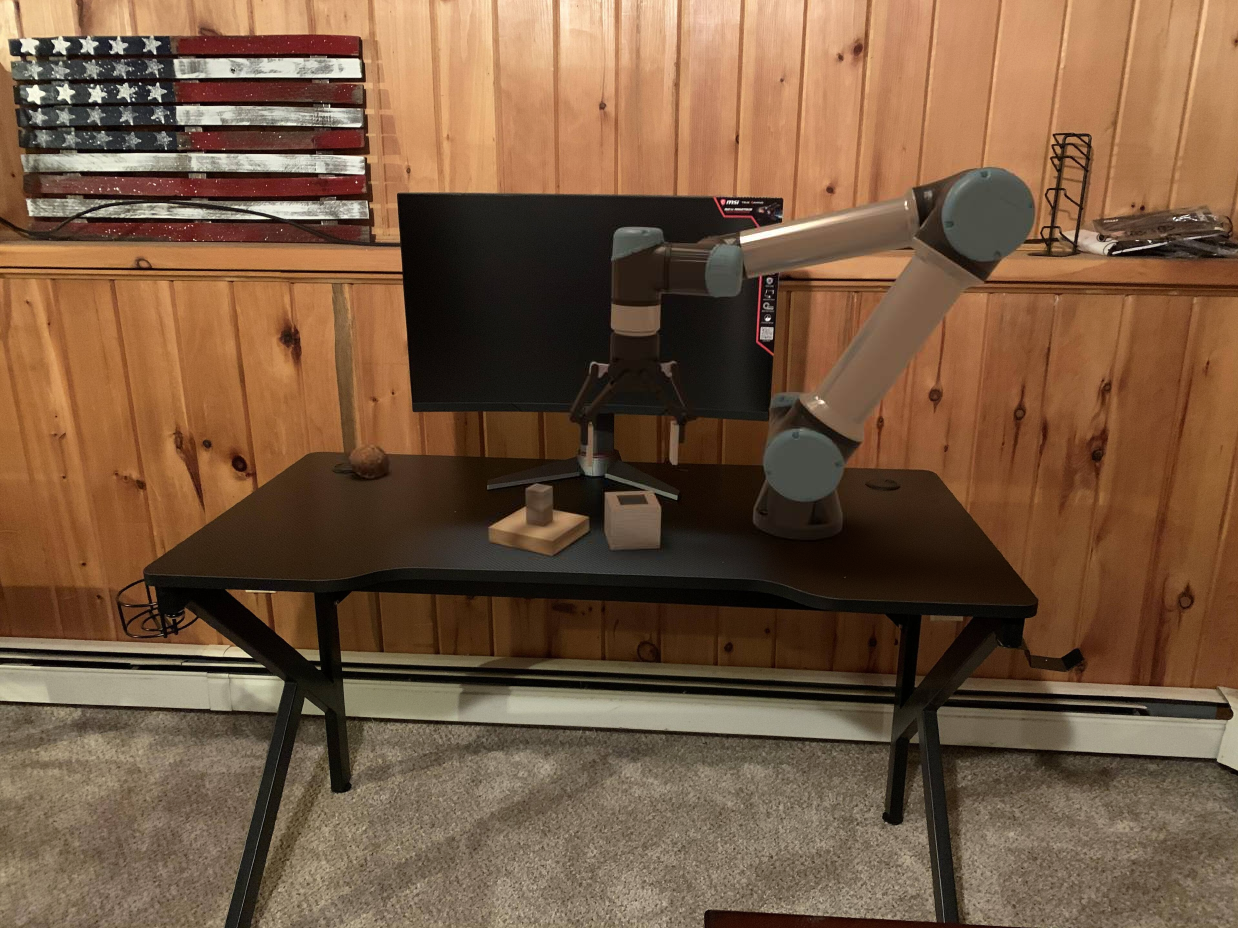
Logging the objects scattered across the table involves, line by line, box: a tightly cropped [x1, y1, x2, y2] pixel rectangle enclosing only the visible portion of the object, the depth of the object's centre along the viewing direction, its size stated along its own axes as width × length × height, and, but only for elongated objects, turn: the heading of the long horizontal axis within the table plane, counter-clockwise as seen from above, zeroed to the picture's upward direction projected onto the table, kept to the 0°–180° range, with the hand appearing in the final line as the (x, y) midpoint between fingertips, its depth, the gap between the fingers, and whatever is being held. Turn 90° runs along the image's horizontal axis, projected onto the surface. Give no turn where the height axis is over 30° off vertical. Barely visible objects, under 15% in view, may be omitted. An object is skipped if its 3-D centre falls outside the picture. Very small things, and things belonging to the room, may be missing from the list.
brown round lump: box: [348, 443, 390, 479], centre depth 181 cm, size 8×8×6 cm
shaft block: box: [488, 483, 590, 557], centre depth 151 cm, size 12×12×8 cm
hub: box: [604, 490, 662, 551], centre depth 151 cm, size 8×8×7 cm
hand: (631, 463), depth 148 cm, fingers open, 13 cm apart
